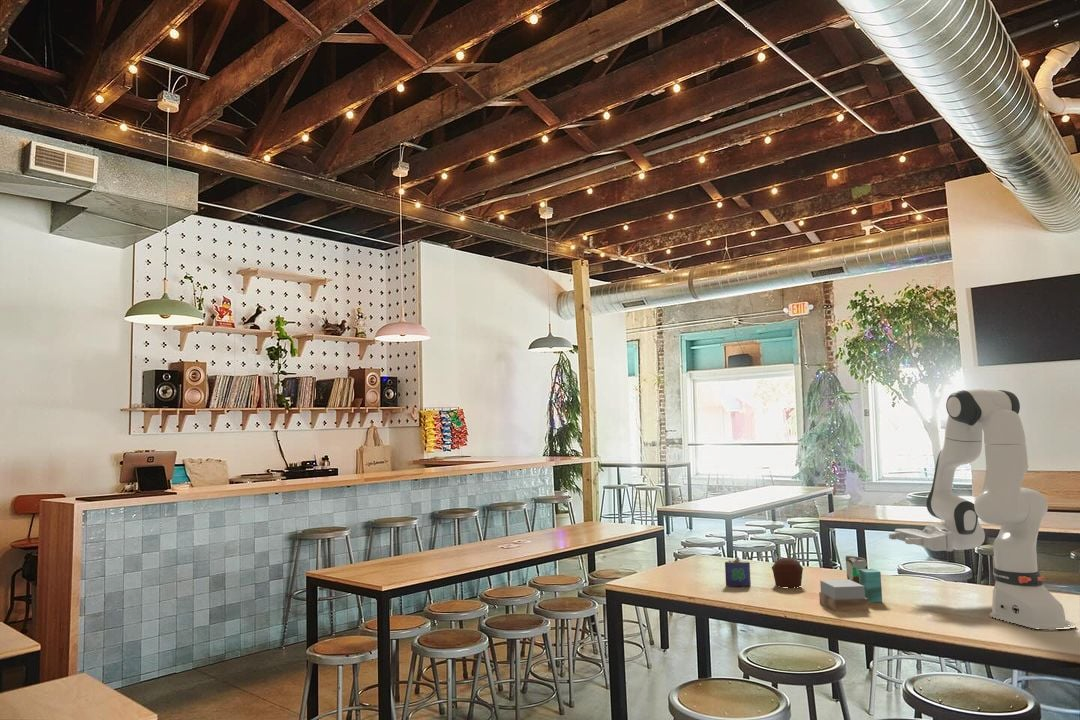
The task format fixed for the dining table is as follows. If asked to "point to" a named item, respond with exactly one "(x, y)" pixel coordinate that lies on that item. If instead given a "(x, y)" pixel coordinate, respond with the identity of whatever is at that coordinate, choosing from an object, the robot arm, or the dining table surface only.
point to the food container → (854, 567)
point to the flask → (737, 573)
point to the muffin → (787, 573)
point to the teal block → (871, 584)
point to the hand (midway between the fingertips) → (898, 538)
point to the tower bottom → (843, 603)
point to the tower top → (842, 589)
